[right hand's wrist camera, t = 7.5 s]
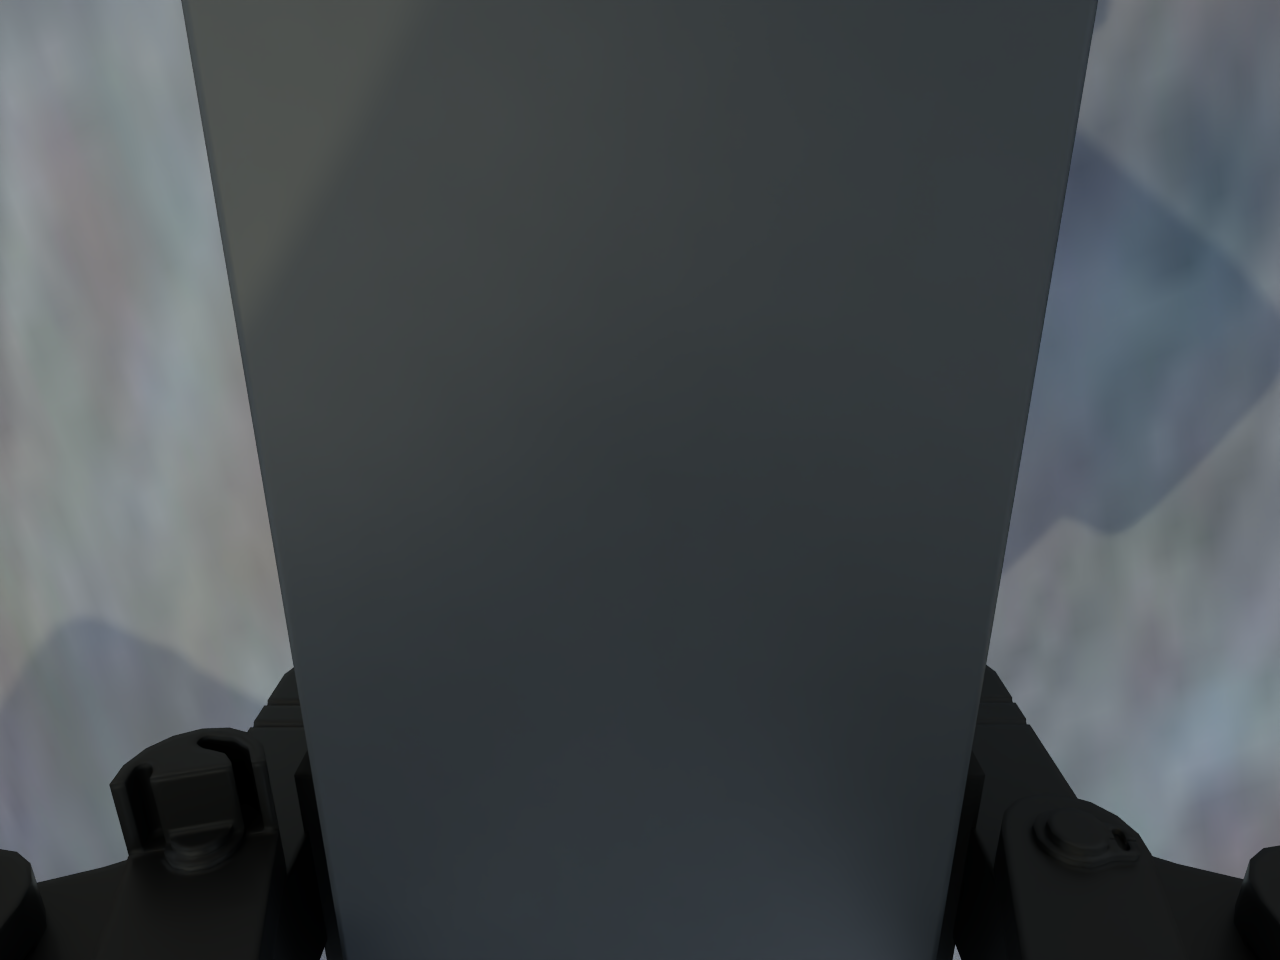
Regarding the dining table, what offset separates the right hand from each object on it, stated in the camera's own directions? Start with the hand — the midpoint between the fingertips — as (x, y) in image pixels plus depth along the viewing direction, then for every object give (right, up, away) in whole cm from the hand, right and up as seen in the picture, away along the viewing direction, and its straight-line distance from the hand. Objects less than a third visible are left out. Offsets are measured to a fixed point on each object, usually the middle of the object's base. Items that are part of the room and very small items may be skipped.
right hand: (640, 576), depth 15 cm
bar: (0, +7, -2) cm, 7 cm away
